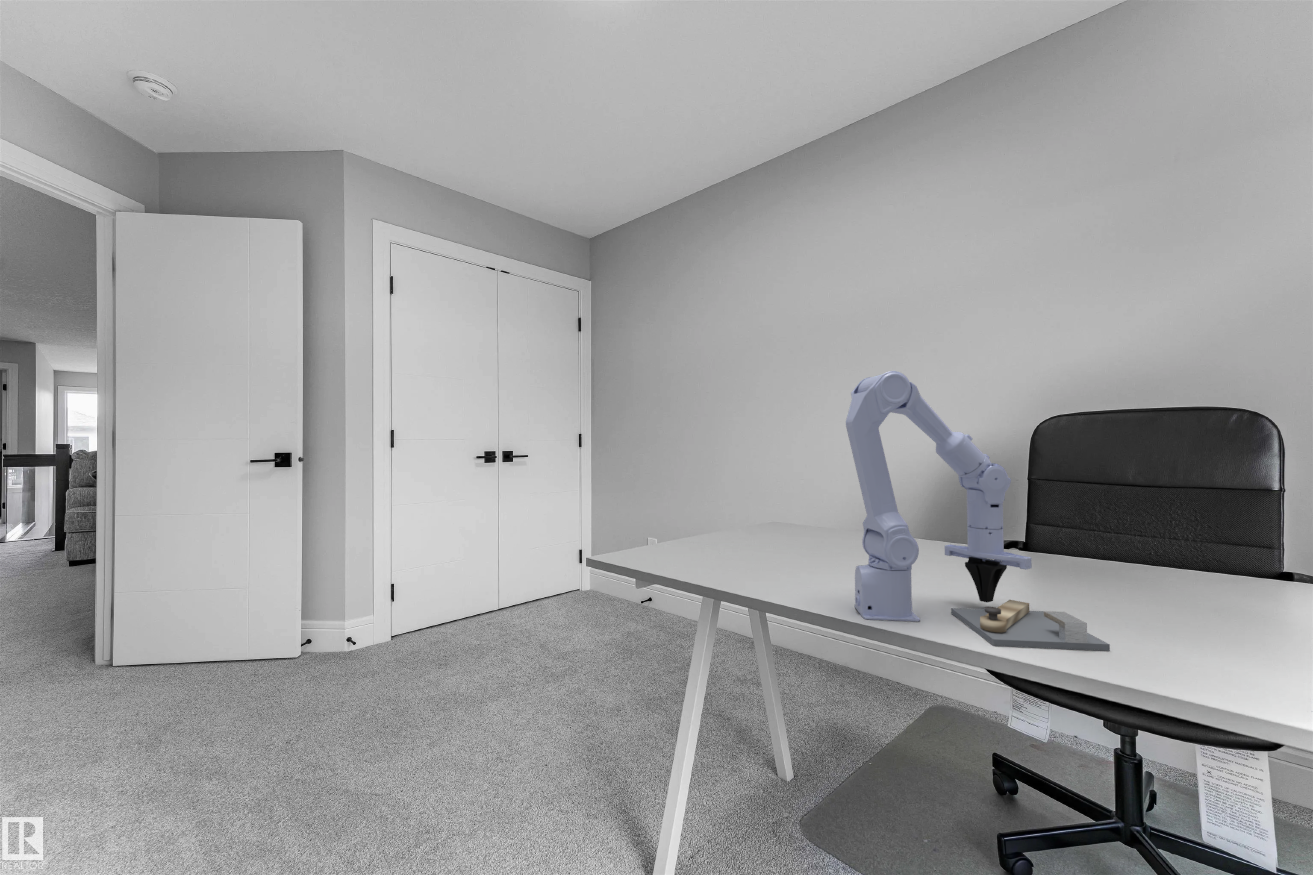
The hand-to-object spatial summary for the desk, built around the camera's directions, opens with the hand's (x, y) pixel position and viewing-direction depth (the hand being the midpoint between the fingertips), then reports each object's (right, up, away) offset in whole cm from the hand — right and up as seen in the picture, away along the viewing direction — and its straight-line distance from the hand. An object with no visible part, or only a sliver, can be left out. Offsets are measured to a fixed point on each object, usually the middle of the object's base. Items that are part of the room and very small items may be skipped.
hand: (986, 600), depth 98 cm
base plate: (0, -2, -10) cm, 10 cm away
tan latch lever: (-2, -1, -9) cm, 9 cm away
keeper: (+2, -1, -16) cm, 16 cm away
